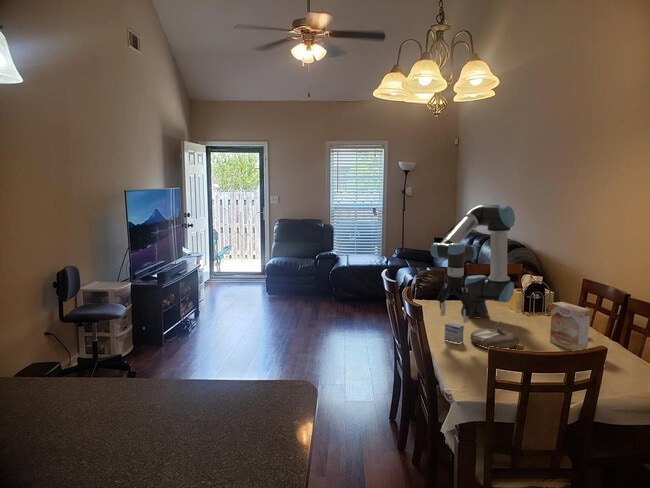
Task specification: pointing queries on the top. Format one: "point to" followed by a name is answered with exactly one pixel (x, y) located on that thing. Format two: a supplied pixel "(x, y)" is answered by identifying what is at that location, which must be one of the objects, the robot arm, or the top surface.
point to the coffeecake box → (569, 326)
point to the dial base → (518, 347)
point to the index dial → (495, 337)
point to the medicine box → (454, 332)
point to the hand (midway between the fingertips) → (453, 318)
